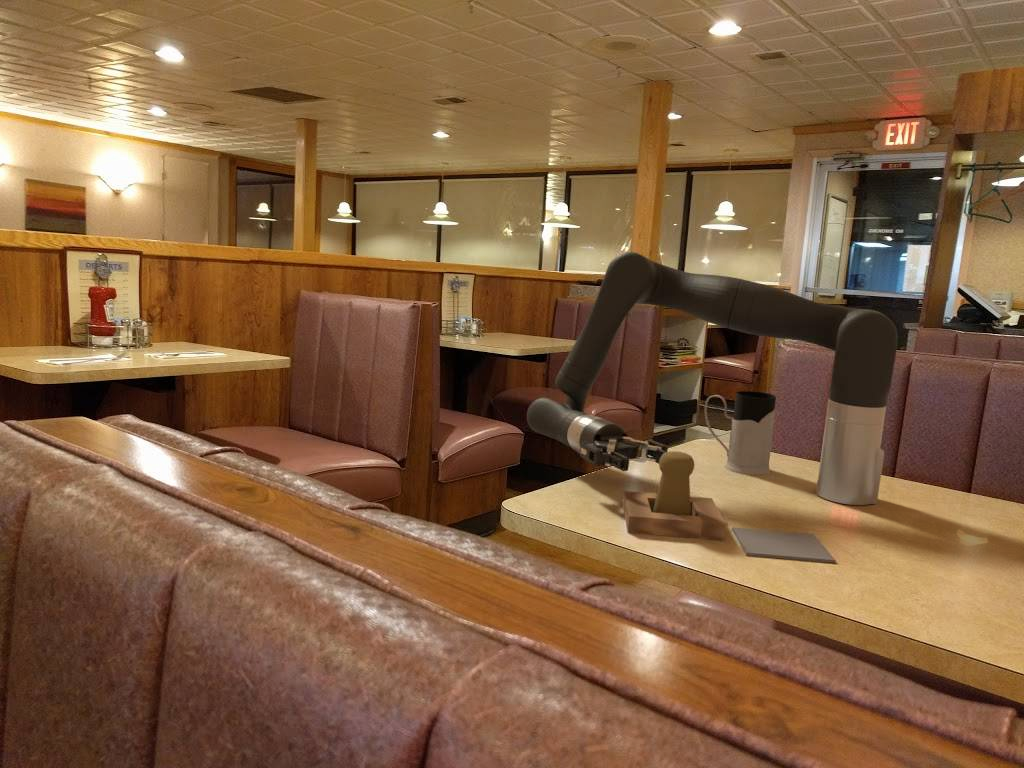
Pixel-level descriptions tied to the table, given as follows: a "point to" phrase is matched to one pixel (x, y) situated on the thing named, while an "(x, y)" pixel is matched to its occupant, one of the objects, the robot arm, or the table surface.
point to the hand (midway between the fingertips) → (649, 463)
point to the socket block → (673, 518)
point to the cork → (674, 484)
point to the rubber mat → (782, 545)
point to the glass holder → (749, 432)
